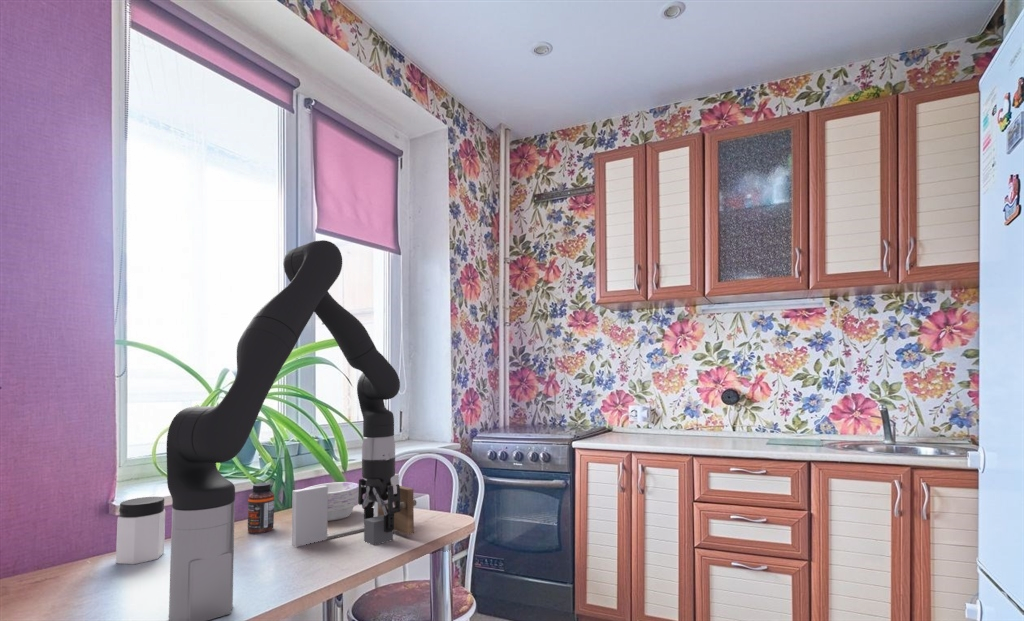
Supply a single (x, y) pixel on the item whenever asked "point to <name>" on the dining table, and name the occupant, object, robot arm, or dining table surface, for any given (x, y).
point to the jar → (140, 530)
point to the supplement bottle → (261, 509)
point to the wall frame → (316, 515)
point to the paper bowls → (340, 499)
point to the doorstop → (376, 531)
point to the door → (403, 511)
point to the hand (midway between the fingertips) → (378, 528)
